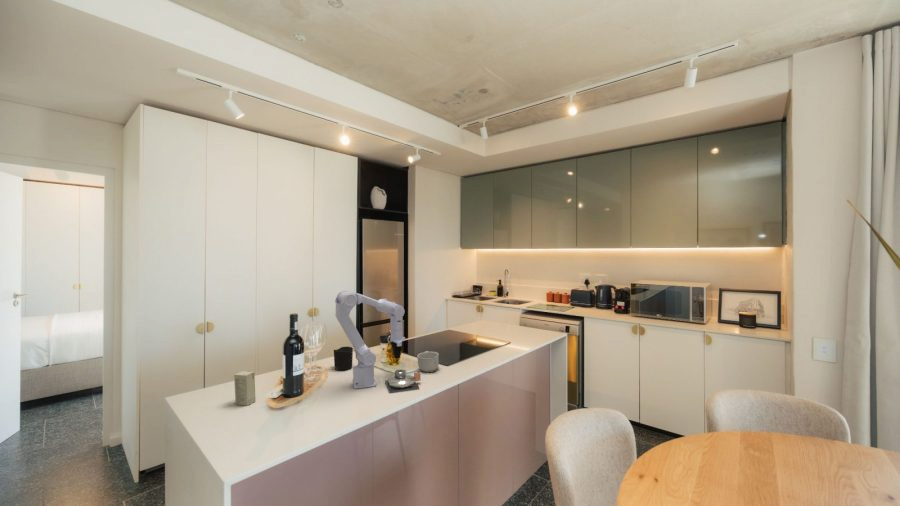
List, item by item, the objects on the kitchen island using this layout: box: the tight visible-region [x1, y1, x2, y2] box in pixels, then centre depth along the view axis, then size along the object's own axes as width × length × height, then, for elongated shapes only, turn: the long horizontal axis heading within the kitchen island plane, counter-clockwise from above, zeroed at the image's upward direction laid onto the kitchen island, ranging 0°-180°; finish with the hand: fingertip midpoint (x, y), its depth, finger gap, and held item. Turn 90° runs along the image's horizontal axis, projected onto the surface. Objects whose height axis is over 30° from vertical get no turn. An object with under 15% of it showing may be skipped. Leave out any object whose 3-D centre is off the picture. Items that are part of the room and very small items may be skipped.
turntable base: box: [384, 379, 420, 394], centre depth 160 cm, size 13×13×1 cm
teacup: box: [416, 350, 440, 373], centre depth 181 cm, size 14×11×8 cm
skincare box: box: [233, 370, 257, 406], centre depth 143 cm, size 6×4×12 cm
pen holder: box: [333, 346, 354, 372], centre depth 183 cm, size 9×9×10 cm
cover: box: [394, 369, 407, 379], centre depth 163 cm, size 5×5×3 cm
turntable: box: [387, 371, 422, 388], centre depth 160 cm, size 15×12×3 cm
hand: (396, 357), depth 170 cm, fingers closed
